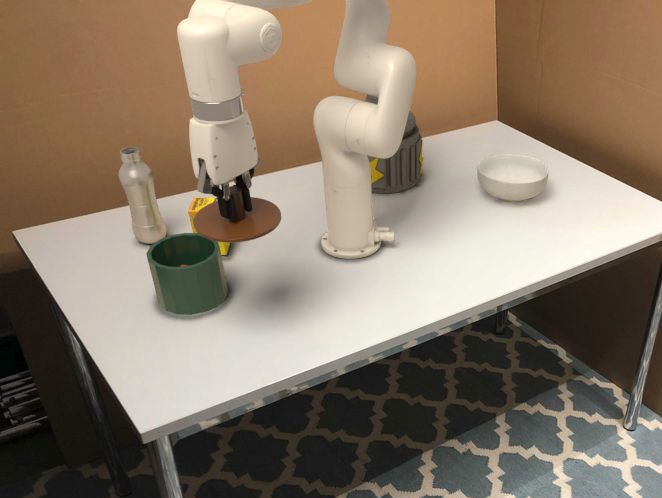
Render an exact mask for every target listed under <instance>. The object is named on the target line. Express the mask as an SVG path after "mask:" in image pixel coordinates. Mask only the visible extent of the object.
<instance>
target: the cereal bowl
mask: <svg viewBox="0 0 662 498" xmlns="http://www.w3.org/2000/svg"><path fill="white" fill-rule="evenodd" d="M476 170H477V172H476V173H477V180H478V182H479V184H480V186H481V189H483V190H484V192H486V193H487V194H488V195H490V196H493V197H495V198H497V199H499V200H501V201H505V202H509V203H512V202H513V203H516V202H517V203H518V202H522V201H524V200H528V199H531V198H534V197H536V196H537V195H539V194H540V193H541V192H543V190H544V189H545V187H546V186H547V184H548V180H549V175H550V169H549V167H548V166H547V165H546V163H544V162H543V161H542V160H540V159H538V158H536V157H533V156H529V155H525V154H521V153H497V154H493V155H489V156H487V157H484V158H482V159H481V160H479V162H478V163H477V168H476Z"/></svg>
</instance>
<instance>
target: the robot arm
mask: <svg viewBox="0 0 662 498" xmlns="http://www.w3.org/2000/svg"><path fill="white" fill-rule="evenodd" d="M312 1H313V0H195V1H194V3H193V4H192V5H191V7H190V9H189V12H188V16H187V18H185V19H183V20H181V21H180V22H179V23H178V25H177V28H176V35H177V41H178V46H179V51H180V56H181V61H182V66H183V71H184V75H185V76H184V77H185V82H186V87H187V91H188V96H189V101H190V107H191V110H192V116H193V117H191V118H190V119H189V126H188V137H189V150H190V158H191V165H192V171H193V173H194V177H195V178H196V179H197V180H198V181H197V186H196V191H197V192H199V193H201V194H204V195H212V196H213V197H217V200H218V206H219V211H220V215H221V216H222V217H224V218H227V219H229V220H232V221H235V220H237V213H236V208H235V202H234V199H233V198H231V197H230V188H229V187H230V181H231V180H233V183H234V184H233V185H232V186H238V187H240V188H241V189H242V195H243V201H244V207H245V211H247V212H250V211H252V203H251V197H252V196H251V192H250V189H251V188H252V185H253V183H252V179H253V177H254V175H255V171H256V170H257V169H258V167H260V164H261V158H260V157H259V154H258V148H257V142H256V137H255V133H254V129H253V126H252V122H251V119H250V116H249V113H248V111H247V108H246V107H245V106H244V100H243V97H245V95H246V93H245V90H244V89H243V88H242V87H241V86H242V85H241V80H240V74H239V73H240V72H239V67H240V66H245V65H249V64H256V63H261V62H264V61H267V60H269V59H271V58H272V57H274V55H276V54H277V52H278V50H279V49H280V47H281V45H282V42H283V29H282V25H281V23H280V22H279V20H278V18H277V17H276V16H275V15H274V14H272V13H271V12H270V11H269V10H279V9H288V8H295V7H299V6H303V5H306V4H309V3H311V2H312ZM344 1H345V11H344V18H343V22H342V28H341V32H340V36H339V41H338V45H337V50H336V54H335V58H334V63H333V64H334V65H333V77H334V80H335V82H336V83H337V84H338V85H339V86H340V87H341V88H343V89H345V90H348V91H352V92H355V93H360V94H363V95H366V96H367V95H371V96H376V97H379V98H378V105H377V104H373V103H369V102H365V100H361V99H357V98H352V97H348V96H343V95H330V96H327V97H324V98H323V99H321V100H320V101H319V102H318V103H317V105H316V106H315V108H314V112H313V118H312V120H313V121H312V124H313V129H314V134H315V138H316V141H317V144H318V148H319V153H320V159H321V165H322V175H323V188H324V199H325V200H324V201H325V212H326V214H325V215H326V222H327V223H326V224H327V225H326V226H327V232H325V233H324V234H323V235H322V237H321V240H320V244H321V248H322V250H323V251H324V252H325V253H326V254H327V255H330V256H331V257H333V258H334V257H335V258H337V259H344V260H356V259H362V258H365V257H369V256H371V255H373V254H374V253H376V252H377V251H378V250H379V249H380V247H381V246H382V241H386V242H395V231H390V226H379V225H377V223H376V219H374V216H373V192H372V189H371V167H370V163H369V160H368V157H367V155H368V156H372V157H376V158H383V159H384V158H390V157H392V156H393V155H394V154H395V153H396V152H397V150H398V148H399V146H400V144H401V141H402V138H403V134H404V130H405V126H406V122H407V118H408V114H409V111H411V107H412V102H413V99H414V98H413V97H414V93H415V89H416V85H417V76H418V75H417V74H418V72H417V63H416V61H415V58H414V55H412V53H410V51H408V50H407V49H406V48H403V47H401V46H396V45H393V44H387V41H388V36H389V31H390V26H391V19H392V17H391V16H392V15H391V9H390V7H389V3H388V1H387V0H344ZM220 186H221V187H220Z"/></svg>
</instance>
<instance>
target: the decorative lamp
mask: <svg viewBox="0 0 662 498" xmlns="http://www.w3.org/2000/svg"><path fill="white" fill-rule="evenodd" d="M378 98H379V97H376V96H371V95H367V94H366V97H365V100H364V101H365V102H369V103H373V104H377V105H378ZM416 121H417V120H416V116H415V115H414V113H413V112H412V111H411V110H409V114H408V118H407V122H406V126H405V130H404V134H403V138H402V141H401V144H400V146H399V148H398V150H397V152H396V153H395V154H394V155H393V156H392V157H390V158H384V159H383V158H376V157H372V156H368V155H367V157H368V160H369V163H370V167H371V189H372V193H375V194H393V193H400V192H402V191H407V190H408V189H411V188H412V187H414V186H415V185H416V184H417V183H418V182H419V181H420V177H421V176H422V171H423V169H422V168H423V165H424V157H423V144H424V141H423V137H422V135H421V132H420V127H419V126H418V124H417V123H416Z"/></svg>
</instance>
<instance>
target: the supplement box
mask: <svg viewBox="0 0 662 498" xmlns="http://www.w3.org/2000/svg"><path fill="white" fill-rule="evenodd" d="M216 201H218V200H217V197H216V196H213V197H209V196H208V197H203V196H202V197H200V196H199V197H198V196H197V197H196V196H195V197H193V198H192V201H191V204H190V205H189V208H188V210H187V211H188V212H187V213H188V216H189V221H190V227H191V231H192V232H191V233H197V232H196V230H195V229H194V225H193V219H194V216H195V215H196V213H197V212H198V211H199V210H200V209H202V208H203V207H205V206H207V205H208V204H211V203H213V202H216ZM218 244H219V247H220V251H221V256H222V257H227V258H228V256H229V252H230V248H231V245H232V242H231V243H228V242H218Z"/></svg>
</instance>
